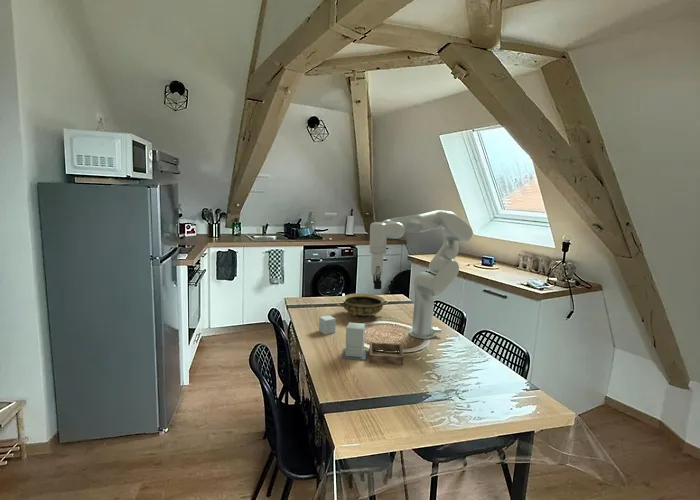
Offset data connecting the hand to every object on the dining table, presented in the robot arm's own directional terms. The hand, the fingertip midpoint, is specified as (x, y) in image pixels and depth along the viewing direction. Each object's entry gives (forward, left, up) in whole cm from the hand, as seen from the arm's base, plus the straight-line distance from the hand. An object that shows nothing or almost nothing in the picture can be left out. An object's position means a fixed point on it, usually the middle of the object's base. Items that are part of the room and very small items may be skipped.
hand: (377, 286), depth 193 cm
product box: (+23, -9, -27) cm, 37 cm away
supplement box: (+8, +17, -26) cm, 32 cm away
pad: (+9, +17, -27) cm, 33 cm away
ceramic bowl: (+6, -37, -27) cm, 46 cm away
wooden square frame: (-5, +17, -27) cm, 32 cm away
